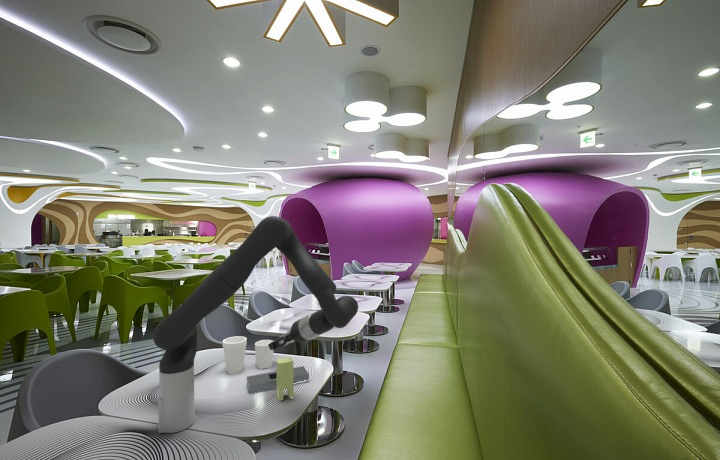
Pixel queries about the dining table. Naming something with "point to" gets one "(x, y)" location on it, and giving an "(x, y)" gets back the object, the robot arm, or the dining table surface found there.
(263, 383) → the grey flat block
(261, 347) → the white cup
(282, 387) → the olive green rectangular block
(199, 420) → the dining table surface
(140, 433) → the dining table surface
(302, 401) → the dining table surface
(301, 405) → the dining table surface
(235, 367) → the foam cup
